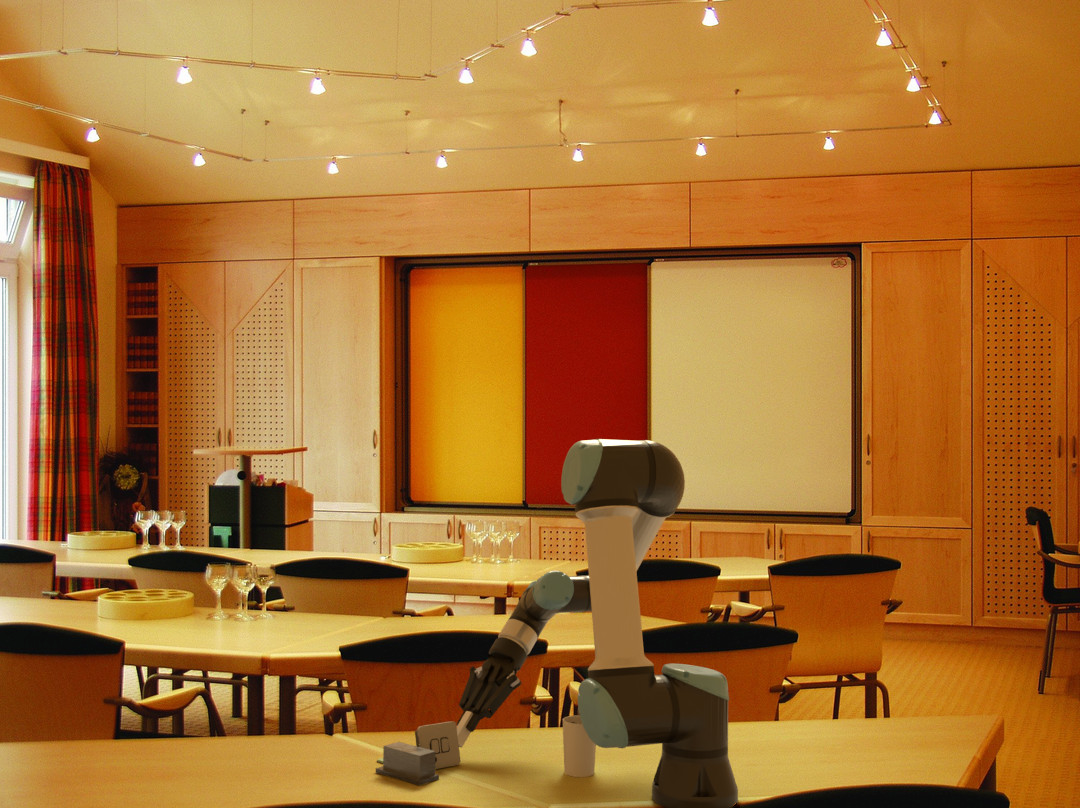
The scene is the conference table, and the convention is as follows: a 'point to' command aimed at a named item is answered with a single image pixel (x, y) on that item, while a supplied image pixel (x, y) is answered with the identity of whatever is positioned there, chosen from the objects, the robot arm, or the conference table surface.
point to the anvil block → (408, 763)
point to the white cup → (577, 748)
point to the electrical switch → (440, 743)
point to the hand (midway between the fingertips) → (455, 742)
